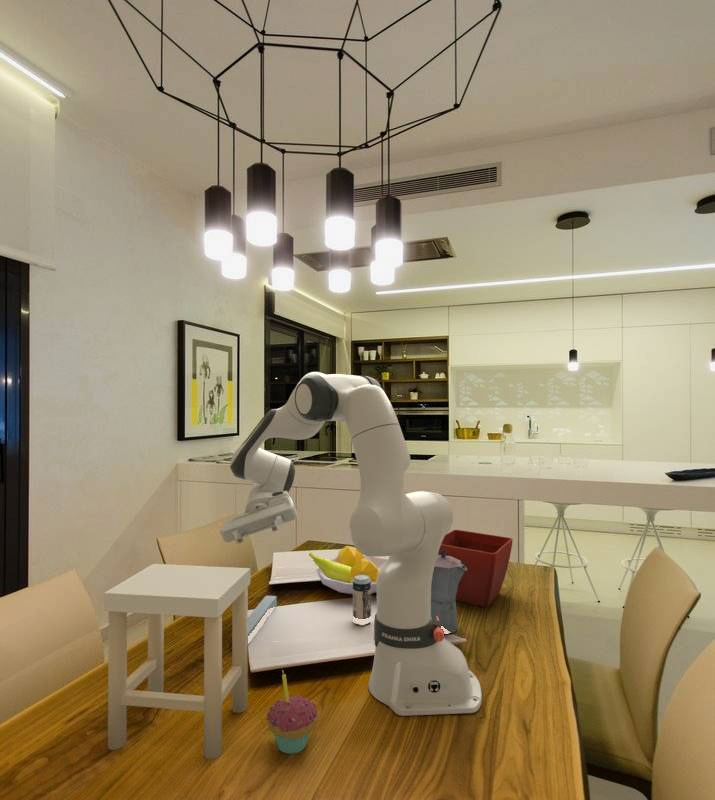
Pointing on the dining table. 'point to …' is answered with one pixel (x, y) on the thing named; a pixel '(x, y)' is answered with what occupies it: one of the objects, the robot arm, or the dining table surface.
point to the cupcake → (292, 721)
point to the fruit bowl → (348, 569)
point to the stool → (159, 596)
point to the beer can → (361, 596)
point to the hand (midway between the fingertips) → (256, 534)
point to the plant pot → (478, 564)
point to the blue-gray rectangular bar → (260, 611)
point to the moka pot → (446, 590)
